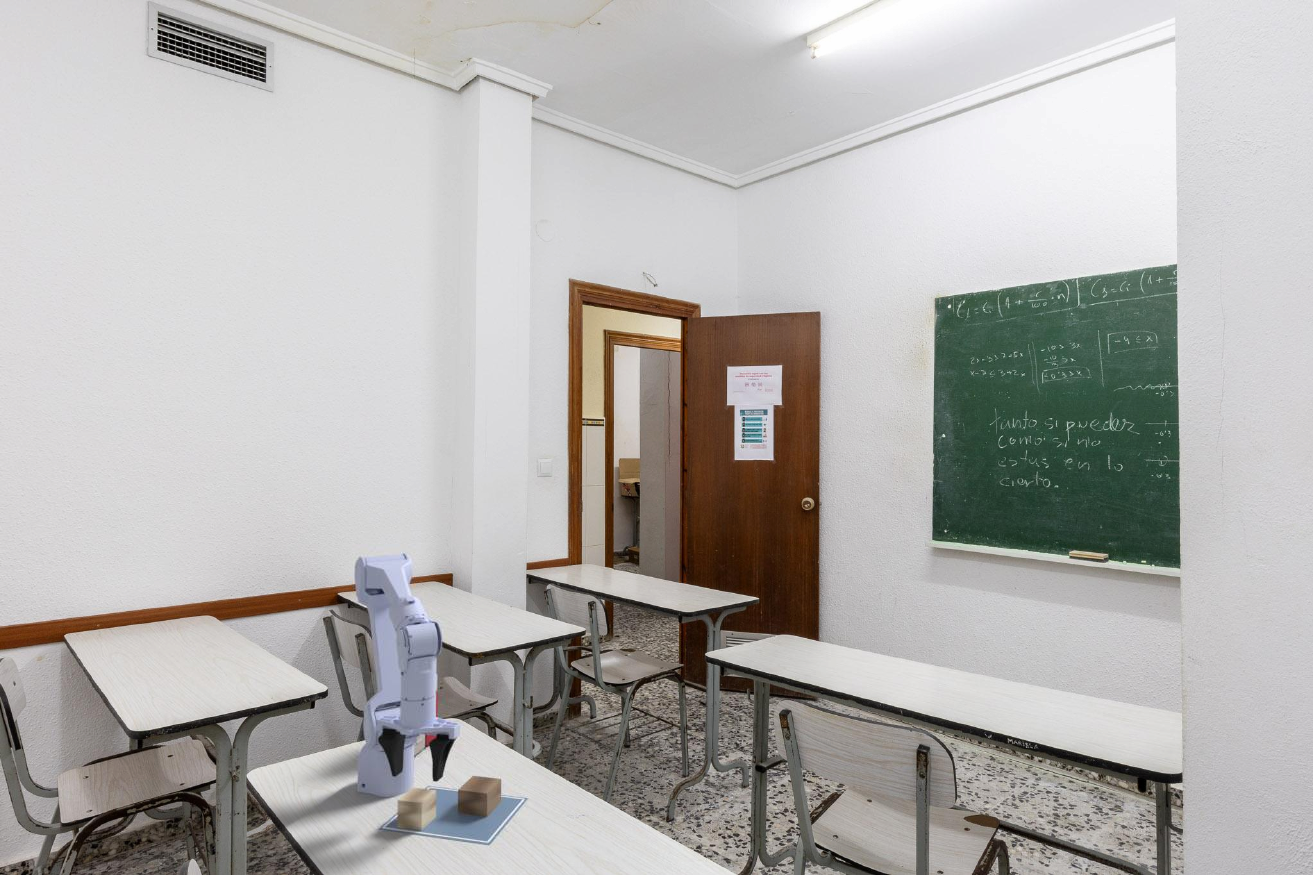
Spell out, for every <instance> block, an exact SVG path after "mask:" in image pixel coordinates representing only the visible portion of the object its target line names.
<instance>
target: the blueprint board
mask: <svg viewBox="0 0 1313 875" xmlns="http://www.w3.org/2000/svg"><path fill="white" fill-rule="evenodd" d="M424 789H429V790H436V817H435V818H434V819H433V820H432V821H431V822H430V823H429V824H428V825H427V826H426V827H425V828H424V829H423V830H422V831H420V830H413V829H406V828H399V827H397V812H396V813H395V814H394V815H392V816H391V817H390V818H389V819H388V820H386V822H384V823H383V824H382V825H381V826H380V827H379V828H377V830H379V831H380V830H381V831H386V832H394V833H401V834H408V835H414V836H422V837H427V838H428V837H430V838H436V839H444V840H449V841H450V840H452V841H458V842H464V843H472V844H479V845H487V846H490V845H491V844H492V843H493V842H494V840H495V839H496V838H497V837H498V836H499V835H500V833H501V832H502V831H503V830H504V829H505V827H506V826H507V825H508V824H509V822H510V821H512V819H513V818H514V816H515V815H516V814H517V813H518V812H519V810H521V808H522V807H523V806H524V805H525V803H526V802H527V801H528V800H529V798H528V797H522V796H512V795H506V794H501V802H500V803H499V804H498V806H497V807H496V808H495V809H494V810H493V811H492V812H491V813H490V814H489V816H488V817H483V816H475V815H468V814H460V813H458V789H457V788H456V789H455V788H447V787H441V786H432V785H427V786H426V787H425V788H424Z"/></svg>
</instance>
